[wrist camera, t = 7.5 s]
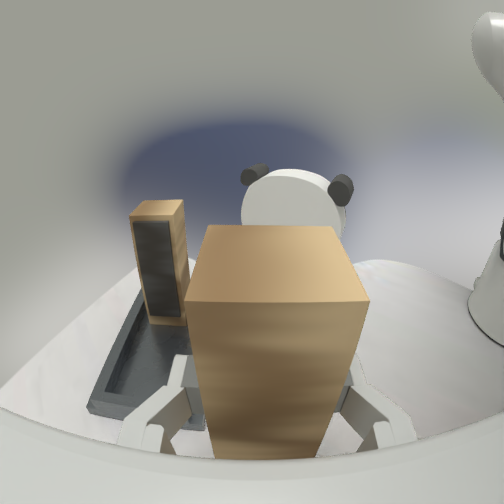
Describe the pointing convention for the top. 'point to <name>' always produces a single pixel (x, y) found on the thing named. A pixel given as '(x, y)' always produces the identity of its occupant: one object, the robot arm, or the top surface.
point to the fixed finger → (162, 259)
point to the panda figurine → (294, 198)
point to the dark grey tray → (139, 366)
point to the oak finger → (272, 336)
